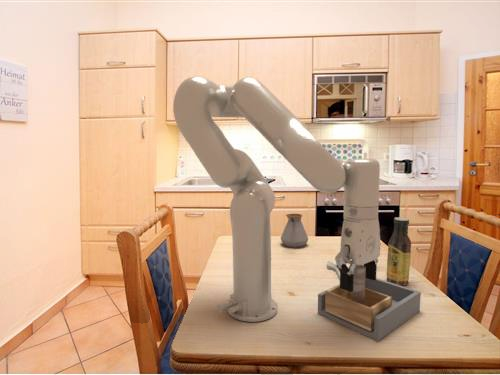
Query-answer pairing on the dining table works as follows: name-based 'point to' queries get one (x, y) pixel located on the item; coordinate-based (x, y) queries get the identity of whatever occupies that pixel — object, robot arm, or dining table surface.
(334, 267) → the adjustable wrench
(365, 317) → the crate
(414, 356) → the dining table surface
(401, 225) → the sauce bottle
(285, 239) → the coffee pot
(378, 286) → the bay
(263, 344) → the dining table surface
